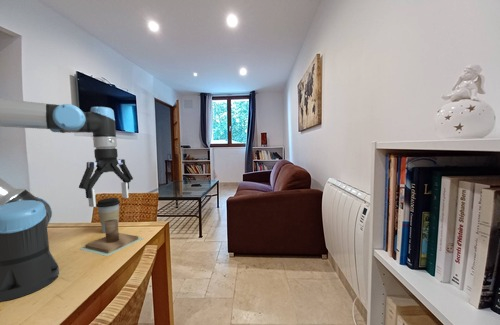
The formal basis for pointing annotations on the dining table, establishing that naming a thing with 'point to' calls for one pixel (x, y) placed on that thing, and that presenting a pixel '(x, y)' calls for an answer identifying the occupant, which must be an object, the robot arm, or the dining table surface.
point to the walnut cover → (111, 239)
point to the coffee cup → (108, 210)
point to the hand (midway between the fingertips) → (110, 201)
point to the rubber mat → (111, 252)
